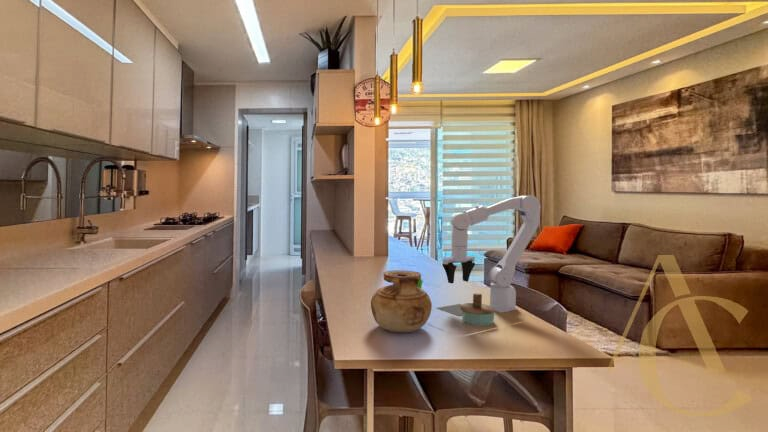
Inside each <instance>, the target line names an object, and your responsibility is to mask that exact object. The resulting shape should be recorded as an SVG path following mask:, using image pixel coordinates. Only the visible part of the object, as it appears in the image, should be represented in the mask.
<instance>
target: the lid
mask: <svg viewBox="0 0 768 432" xmlns="http://www.w3.org/2000/svg"><path fill="white" fill-rule="evenodd" d="M472 295H473V296H472V302H466V303H463V304H461V306H460V309H461V310H462V311H464V312H467V313H471V314H491V313H493V312H494V313H495V311H494V308H493V307H491V306H490V304H489V305H488V304H485V303H482V301H483V300H482V297H483V294H482V293H477V292H476V293H473V294H472Z"/></svg>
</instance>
